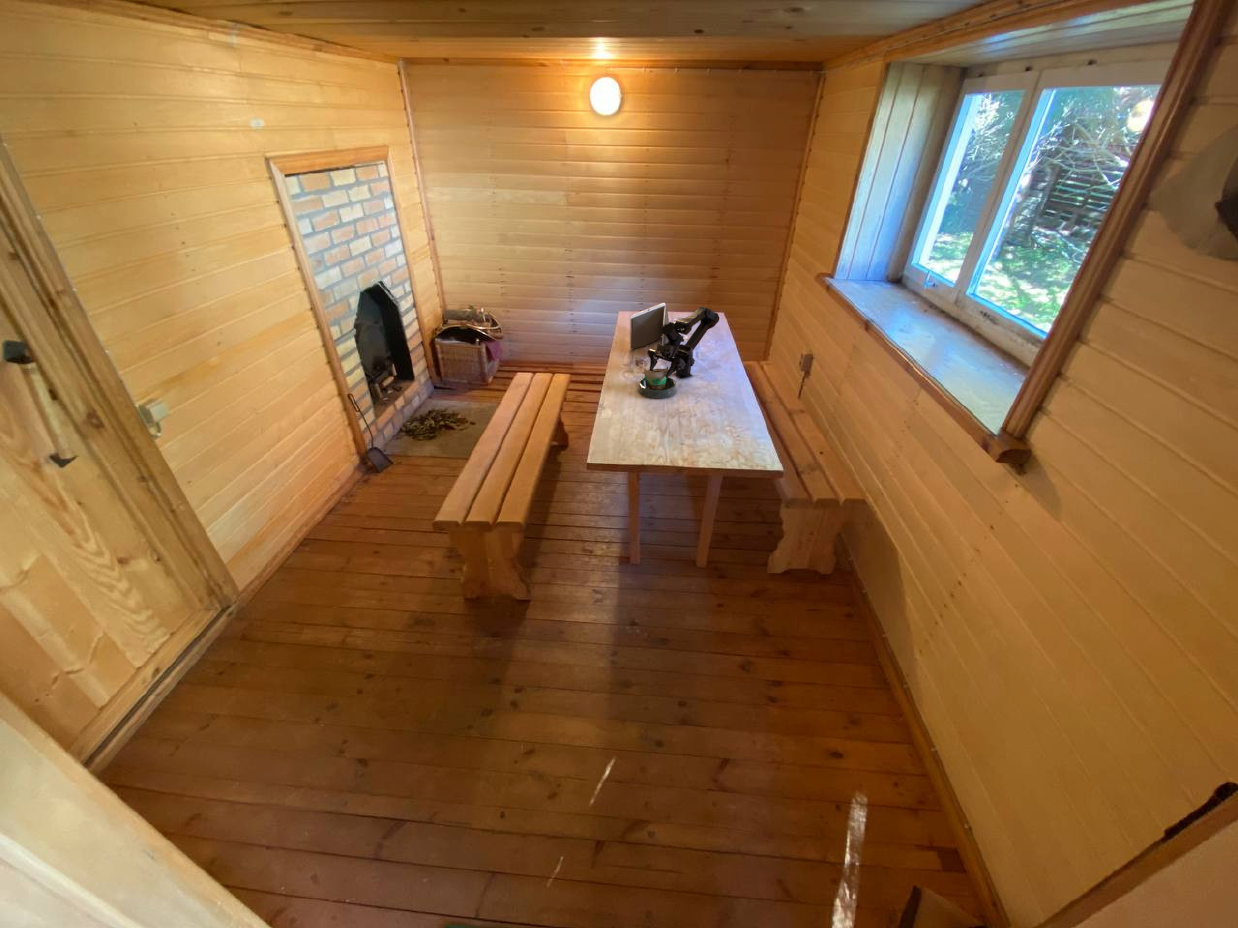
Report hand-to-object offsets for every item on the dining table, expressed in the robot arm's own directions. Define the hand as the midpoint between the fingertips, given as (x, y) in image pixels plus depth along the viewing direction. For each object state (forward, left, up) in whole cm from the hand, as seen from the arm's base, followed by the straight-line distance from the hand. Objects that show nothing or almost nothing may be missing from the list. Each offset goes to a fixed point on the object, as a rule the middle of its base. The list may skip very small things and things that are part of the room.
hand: (657, 374), depth 237 cm
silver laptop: (-22, -51, -8) cm, 56 cm away
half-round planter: (0, 0, -8) cm, 8 cm away
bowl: (0, 0, -8) cm, 8 cm away
